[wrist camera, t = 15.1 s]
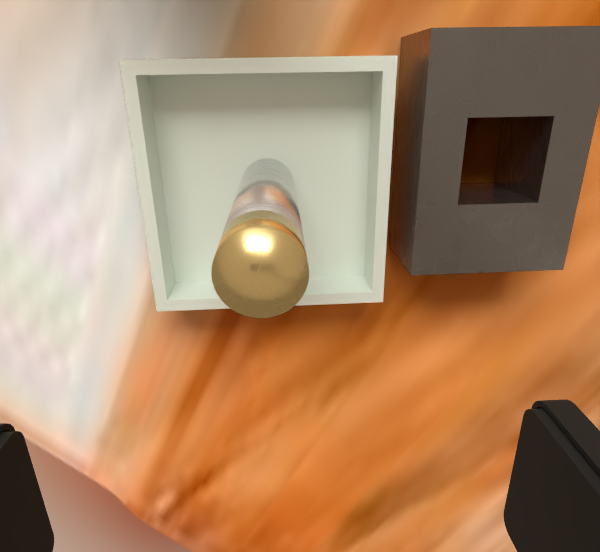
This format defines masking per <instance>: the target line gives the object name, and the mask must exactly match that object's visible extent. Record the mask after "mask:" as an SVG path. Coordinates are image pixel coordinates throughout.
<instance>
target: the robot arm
mask: <svg viewBox="0 0 600 552" xmlns="http://www.w3.org/2000/svg"><path fill="white" fill-rule="evenodd" d="M504 522H505V526H506V529H507V532H508V534H509V536H510V538H511V540H512V542H513V544H514V546H515V548H516V550H517V552H600V431H599V430H598V429H597V428H596V427H595V425H594V424H593V423H592V422H591V421H590V420H589V419H588V418H587V417H586V416H585V415H584V414H583V413H582V411H581V410H580V409H579V408H578V407H577V406H576V405H575V404H574V403H573V402H571V401H569V400H546V401H536V402H535V403H534V404H533V406H532V409H528V410H526V411H525V413H524V416H523V421H522V426H521V430H520V435H519V440H518V445H517V450H516V455H515V460H514V465H513V470H512V475H511V480H510V484H509V489H508V494H507V499H506V504H505V509H504ZM53 545H54V535H53V531H52V528H51V525H50V521H49V518H48V515H47V512H46V508H45V505H44V501H43V498H42V495H41V491H40V488H39V485H38V482H37V479H36V475H35V472H34V468H33V465H32V462H31V459H30V456H29V452H28V449H27V445H26V442H25V439H24V436H23V434H22V433H21V432H19V431H15V429H14V427H13V426H12V425H11V424H0V552H52V551H53Z"/></svg>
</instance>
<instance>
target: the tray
mask: <svg viewBox="0 0 600 552" xmlns="http://www.w3.org/2000/svg"><path fill="white" fill-rule="evenodd" d="M397 57H398V55H396V56H329V57H261V58H194V59H126V60H119V65H120V72H121V78H122V85H123V92H124V98H125V105H126V111H127V118H128V125H129V131H130V138H131V145H132V151H133V158H134V164H135V171H136V178H137V184H138V191H139V197H140V204H141V211H142V217H143V224H144V231H145V237H146V244H147V250H148V257H149V264H150V270H151V277H152V283H153V290H154V297H155V303H156V310H157V311H181V310H205V309H229V307H228V306H227V305H226V304H224V302H223V301H222V300H221V299H220V298H219V296H218V295H217V293H216V291H215V289H214V286H213V283H212V276H211V270H212V263H213V259H214V257H215V254H216V251H217V248H218V245H219V242H220V239H221V236H222V234H223V231H224V228H225V225H226V222H227V219H228V216H229V214H230V211H231V208H232V205H233V202H234V199H235V196H236V193H237V191H238V188H239V185H240V182H241V179H242V176H243V174H244V172H245V170H246V169H247V167H248V166H249V165H250V164H252V163H253V162H255V161H257V160H259V159H263V158H271V159H275V160H278V161H280V162H282V163H283V164H284V165H286V166H287V167H288V169H289V170H290V172H291V174H292V176H293V180H294V185H295V191H296V197H297V202H298V208H299V214H300V220H301V226H302V231H303V237H304V243H305V249H306V255H307V260H308V266H309V281H308V286H307V288H306V291H305V293H304V295H303V296H302V298H301V299H300V301H299V302H298V303H297V304H296V305H295V306H300V305H324V304H348V303H372V302H383V294H384V277H385V260H386V243H387V226H388V209H389V192H390V176H391V159H392V142H393V125H394V108H395V91H396V74H397Z"/></svg>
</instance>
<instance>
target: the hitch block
mask: <svg viewBox="0 0 600 552" xmlns="http://www.w3.org/2000/svg"><path fill="white" fill-rule="evenodd" d="M599 103H600V26H553V27H469V28H430V29H427V30H423V31H420V32H417V33H414V34H411V35H407V36H404V37H401V53H400V70H399V86H398V102H397V119H396V135H395V151H394V168H393V184H392V201H391V217H390V233H389V246H390V247H391V249H392V250H393V251H394V253H395V254H396V255H397V257H398V258H399V260H400V261H401V262H402V264H403V265H404V266H405V268H406V269H407V271H408V272H409V273H410V275H437V274H462V273H488V272H514V271H539V270H563V268H564V263H565V259H566V254H567V249H568V245H569V240H570V236H571V231H572V227H573V222H574V217H575V213H576V208H577V204H578V199H579V195H580V190H581V185H582V181H583V176H584V172H585V167H586V163H587V158H588V153H589V149H590V144H591V140H592V135H593V131H594V126H595V122H596V117H597V112H598V108H599ZM482 117H504V121H503V127H502V134H501V141H500V148H499V155H498V162H497V168H496V175H495V182H494V183H460V181H461V172H462V164H463V155H464V147H465V138H466V130H467V121H468V118H482Z"/></svg>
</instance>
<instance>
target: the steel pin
mask: <svg viewBox="0 0 600 552" xmlns="http://www.w3.org/2000/svg"><path fill="white" fill-rule="evenodd" d="M211 276H212V283H213V286H214V289H215V291H216V293H217V295H218V296H219V298H220V299H221V300H222V301H223V302H224V304H226V305H227V306H228V307H229V308H230V309H232V310H233V311H235V312H237V313H239V314H241V315H244V316H247V317H252V318H270V317H275V316H278V315H281V314H283V313H285V312H287V311H288V310H290V309H291V308H292V307H294V306H295V305H296V304H297V303H298V302H299V301H300V299H301V298H302V296H303V295H304V293H305V291H306V288H307V286H308V281H309V266H308V260H307V255H306V249H305V243H304V237H303V231H302V226H301V220H300V214H299V208H298V202H297V197H296V191H295V185H294V180H293V176H292V174H291V172H290V170H289V169H288V167H287V166H286V165H284V164H283V163H282V162H280V161H278V160H275V159H271V158H263V159H259V160H257V161H255V162H253V163H252V164H250V165H249V166H248V167H247V169H246V170H245V172H244V174H243V176H242V179H241V182H240V185H239V188H238V191H237V193H236V196H235V199H234V202H233V205H232V208H231V211H230V214H229V216H228V219H227V222H226V225H225V228H224V231H223V234H222V236H221V239H220V242H219V245H218V248H217V251H216V254H215V257H214V259H213V263H212V270H211Z"/></svg>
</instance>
